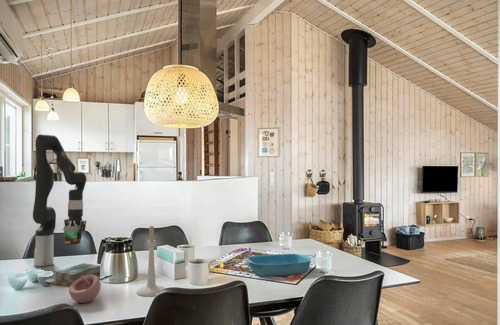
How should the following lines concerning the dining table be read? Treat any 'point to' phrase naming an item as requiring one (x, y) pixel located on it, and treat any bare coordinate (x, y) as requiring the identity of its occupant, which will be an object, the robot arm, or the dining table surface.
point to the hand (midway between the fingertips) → (74, 238)
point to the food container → (71, 235)
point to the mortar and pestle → (85, 288)
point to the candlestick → (150, 271)
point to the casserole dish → (279, 264)
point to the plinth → (75, 273)
